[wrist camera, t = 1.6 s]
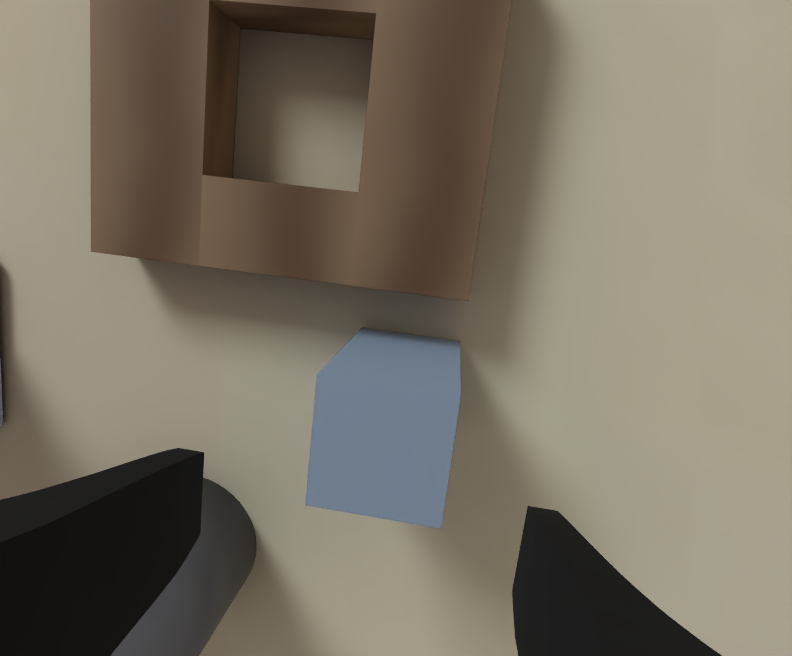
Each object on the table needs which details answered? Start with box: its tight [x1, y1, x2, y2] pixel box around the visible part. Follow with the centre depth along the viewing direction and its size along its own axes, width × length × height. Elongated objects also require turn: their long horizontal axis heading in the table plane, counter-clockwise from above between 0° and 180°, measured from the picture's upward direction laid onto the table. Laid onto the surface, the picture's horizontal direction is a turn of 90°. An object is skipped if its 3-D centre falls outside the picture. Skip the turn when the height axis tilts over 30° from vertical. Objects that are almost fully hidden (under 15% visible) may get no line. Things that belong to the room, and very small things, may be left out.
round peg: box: [111, 478, 256, 656], centre depth 21 cm, size 6×6×7 cm
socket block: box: [90, 0, 512, 301], centre depth 19 cm, size 14×12×2 cm
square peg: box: [305, 328, 461, 528], centre depth 18 cm, size 4×4×7 cm
